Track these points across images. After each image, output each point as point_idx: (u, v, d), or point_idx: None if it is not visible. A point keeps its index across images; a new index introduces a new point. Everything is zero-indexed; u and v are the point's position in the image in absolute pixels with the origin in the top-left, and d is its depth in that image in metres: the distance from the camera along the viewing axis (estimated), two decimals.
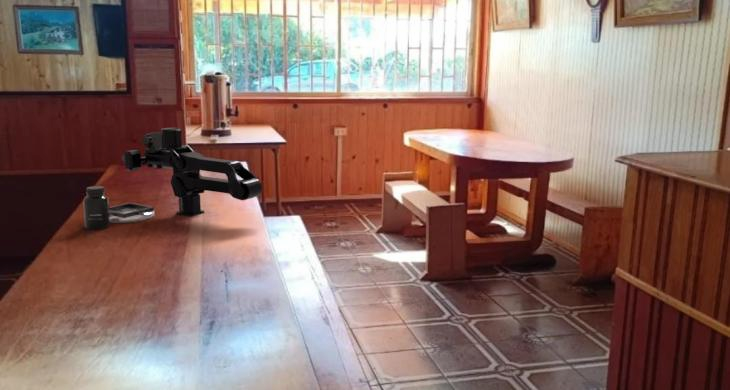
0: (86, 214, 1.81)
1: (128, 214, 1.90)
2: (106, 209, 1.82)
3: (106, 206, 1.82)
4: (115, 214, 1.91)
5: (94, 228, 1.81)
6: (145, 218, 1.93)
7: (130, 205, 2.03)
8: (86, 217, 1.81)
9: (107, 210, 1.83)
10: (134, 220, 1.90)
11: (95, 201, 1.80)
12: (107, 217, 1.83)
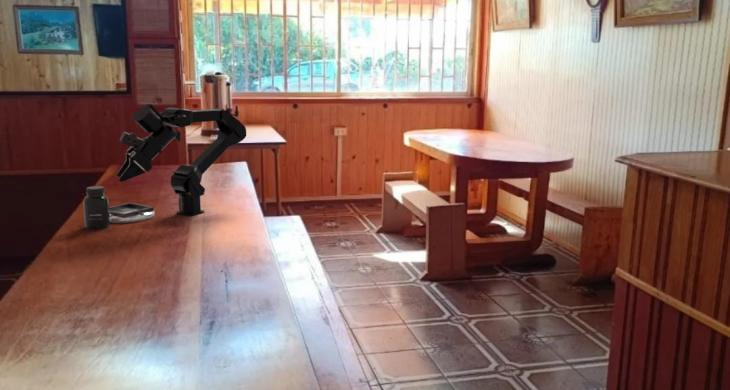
0: (86, 214, 1.81)
1: (128, 214, 1.90)
2: (106, 209, 1.82)
3: (106, 206, 1.82)
4: (115, 214, 1.91)
5: (94, 228, 1.81)
6: (145, 218, 1.93)
7: (130, 205, 2.03)
8: (86, 217, 1.81)
9: (107, 210, 1.83)
10: (134, 220, 1.90)
11: (95, 201, 1.80)
12: (107, 217, 1.83)
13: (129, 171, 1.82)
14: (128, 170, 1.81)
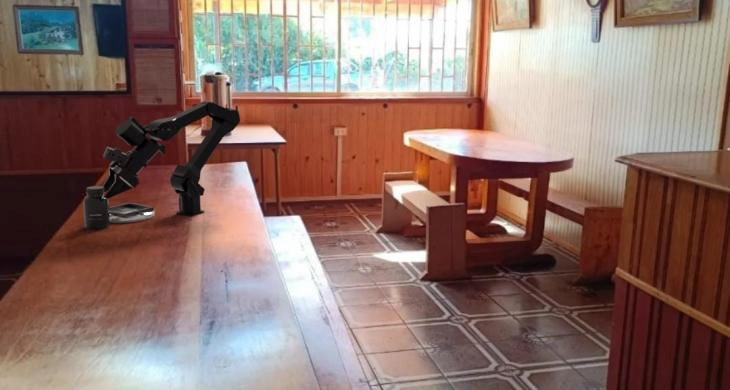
0: (86, 214, 1.81)
1: (128, 214, 1.90)
2: (106, 209, 1.82)
3: (106, 206, 1.82)
4: (115, 214, 1.91)
5: (94, 228, 1.81)
6: (145, 218, 1.93)
7: (130, 205, 2.03)
8: (86, 217, 1.81)
9: (107, 210, 1.83)
10: (134, 220, 1.90)
11: (95, 201, 1.80)
12: (107, 217, 1.83)
13: (115, 187, 1.79)
14: (114, 186, 1.79)
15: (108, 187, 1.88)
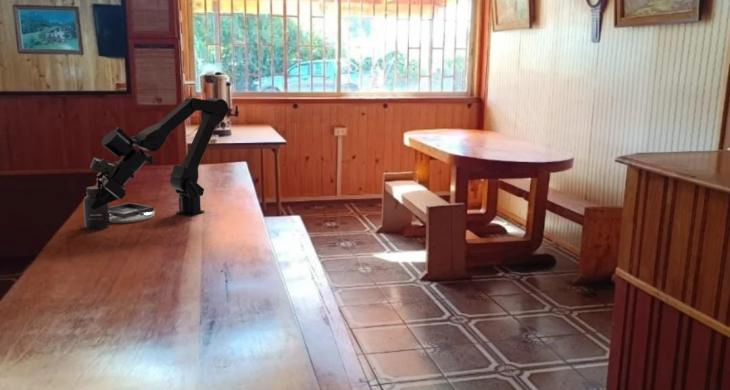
0: (86, 214, 1.81)
1: (128, 214, 1.90)
2: (106, 209, 1.82)
3: (106, 206, 1.82)
4: (115, 214, 1.91)
5: (94, 228, 1.81)
6: (145, 218, 1.93)
7: (130, 205, 2.03)
8: (86, 217, 1.81)
9: (107, 210, 1.83)
10: (134, 220, 1.90)
11: None
12: (107, 217, 1.83)
13: (101, 198, 1.79)
14: (100, 197, 1.79)
15: None
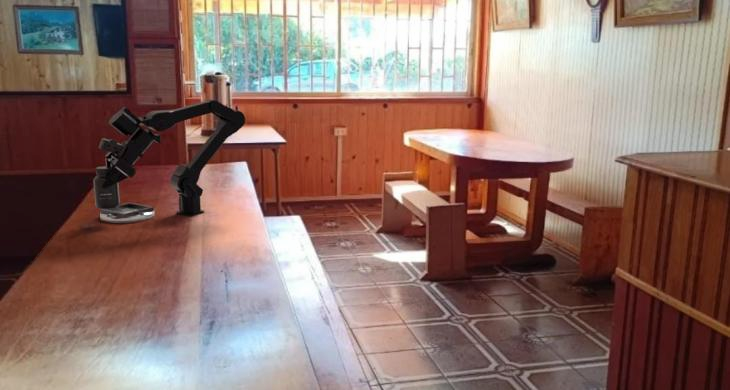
0: (97, 194, 1.83)
1: (128, 214, 1.90)
2: (116, 188, 1.85)
3: (116, 185, 1.85)
4: (115, 214, 1.91)
5: (105, 207, 1.84)
6: (145, 218, 1.93)
7: (130, 205, 2.03)
8: (97, 197, 1.84)
9: (117, 189, 1.86)
10: (134, 220, 1.90)
11: None
12: (117, 196, 1.86)
13: (112, 177, 1.82)
14: (110, 176, 1.82)
15: None
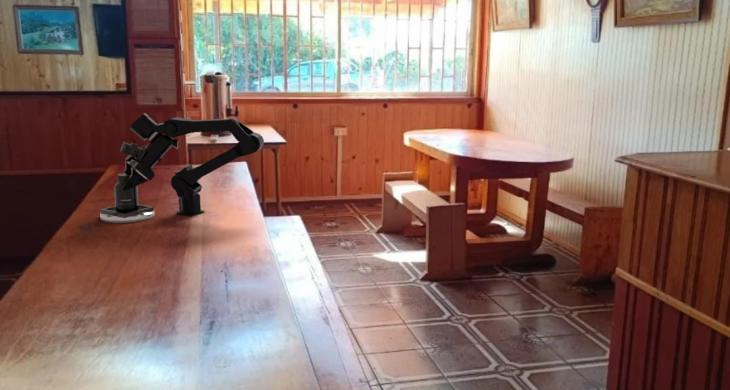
0: (117, 199, 1.93)
1: (128, 214, 1.90)
2: (135, 195, 1.94)
3: (135, 192, 1.94)
4: (115, 214, 1.91)
5: (124, 212, 1.93)
6: (145, 218, 1.93)
7: None
8: (117, 202, 1.93)
9: (136, 196, 1.95)
10: (134, 220, 1.90)
11: None
12: (136, 202, 1.95)
13: (132, 180, 1.90)
14: (131, 179, 1.90)
15: None
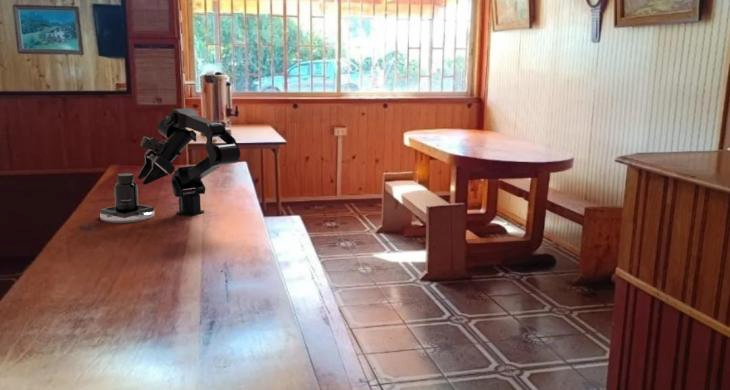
0: (117, 199, 1.93)
1: (128, 214, 1.90)
2: (135, 195, 1.94)
3: (135, 192, 1.94)
4: (115, 214, 1.91)
5: (124, 212, 1.93)
6: (145, 218, 1.93)
7: None
8: (117, 202, 1.93)
9: (136, 196, 1.95)
10: (134, 220, 1.90)
11: (125, 187, 1.92)
12: (136, 202, 1.95)
13: (152, 174, 1.92)
14: (151, 173, 1.91)
15: (144, 174, 2.00)
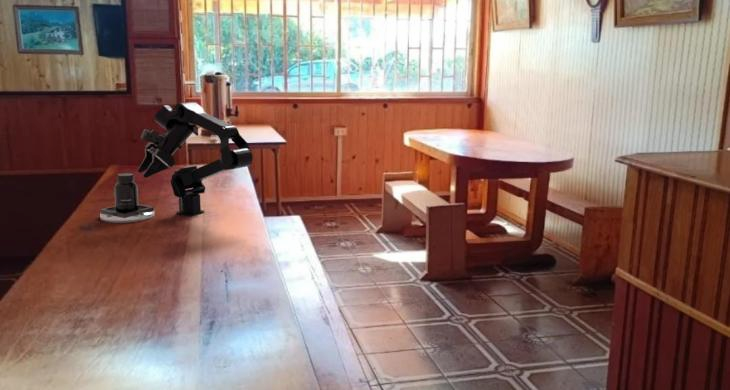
0: (117, 199, 1.93)
1: (128, 214, 1.90)
2: (135, 195, 1.94)
3: (135, 192, 1.94)
4: (115, 214, 1.91)
5: (124, 212, 1.93)
6: (145, 218, 1.93)
7: None
8: (117, 202, 1.93)
9: (136, 196, 1.95)
10: (134, 220, 1.90)
11: (125, 187, 1.92)
12: (136, 202, 1.95)
13: (153, 167, 1.90)
14: (152, 166, 1.89)
15: (144, 168, 1.99)
